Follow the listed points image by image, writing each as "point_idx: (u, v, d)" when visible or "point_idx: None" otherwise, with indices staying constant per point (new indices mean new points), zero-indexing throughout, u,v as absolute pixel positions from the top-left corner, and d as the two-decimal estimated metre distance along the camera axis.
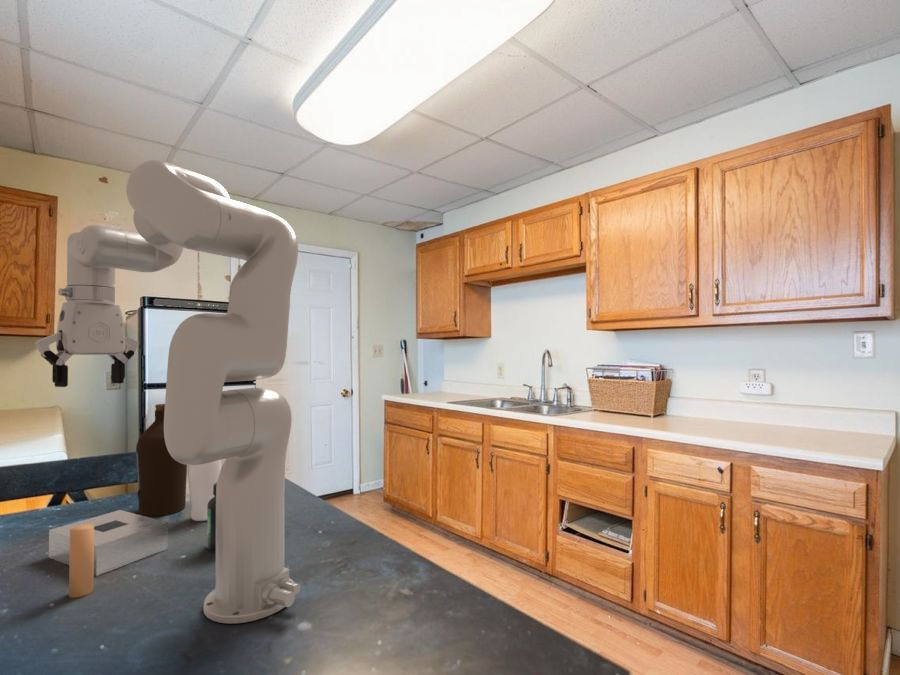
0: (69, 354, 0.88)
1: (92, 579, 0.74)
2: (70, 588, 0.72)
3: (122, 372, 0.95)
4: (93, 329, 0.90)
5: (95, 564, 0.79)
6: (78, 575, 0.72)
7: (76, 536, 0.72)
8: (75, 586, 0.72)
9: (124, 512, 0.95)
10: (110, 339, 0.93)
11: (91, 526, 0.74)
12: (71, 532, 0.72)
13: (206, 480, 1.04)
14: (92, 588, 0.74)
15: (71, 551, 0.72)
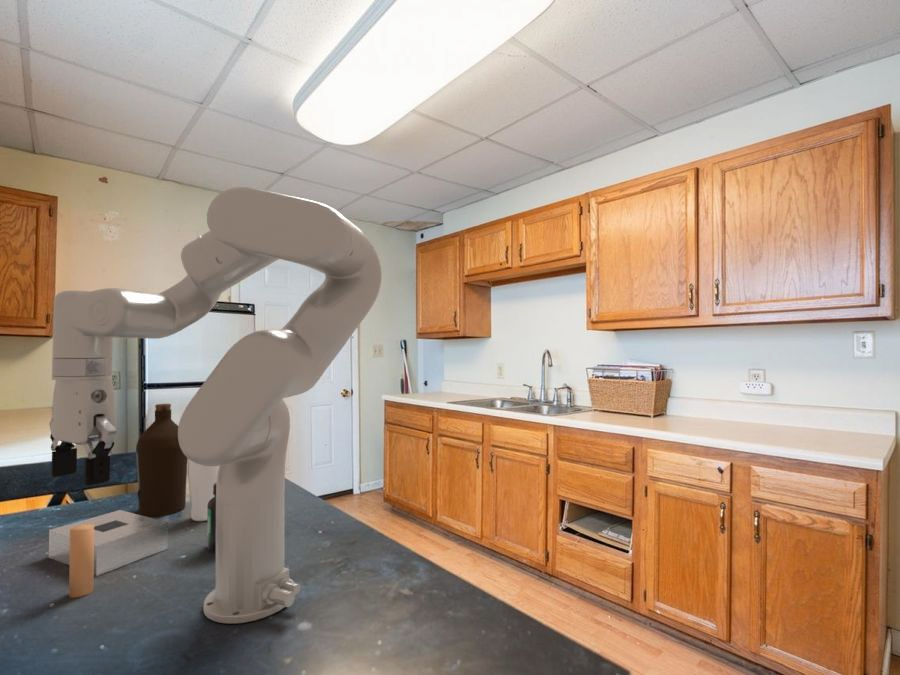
0: None
1: (92, 579, 0.74)
2: (70, 588, 0.72)
3: None
4: None
5: (95, 564, 0.79)
6: (78, 575, 0.72)
7: (77, 536, 0.72)
8: (75, 586, 0.72)
9: (124, 512, 0.95)
10: None
11: (91, 526, 0.74)
12: (71, 532, 0.72)
13: (206, 480, 1.04)
14: (92, 588, 0.74)
15: (71, 551, 0.72)
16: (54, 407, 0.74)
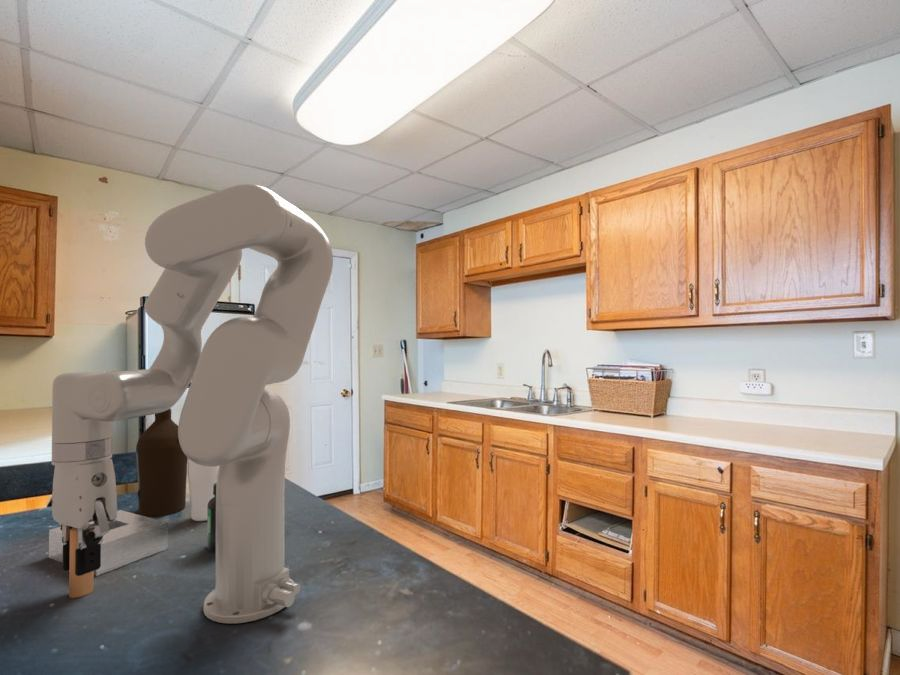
0: None
1: (92, 579, 0.74)
2: (70, 588, 0.72)
3: None
4: None
5: None
6: None
7: (77, 536, 0.72)
8: (75, 586, 0.72)
9: (124, 512, 0.95)
10: None
11: None
12: (71, 532, 0.72)
13: (206, 480, 1.04)
14: (92, 588, 0.74)
15: (71, 551, 0.72)
16: (54, 490, 0.73)
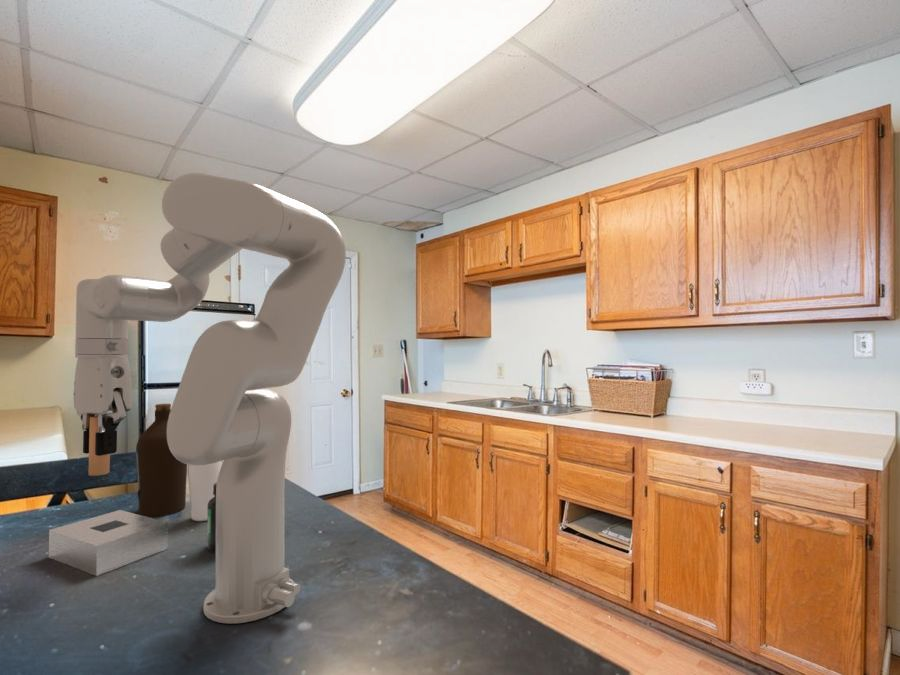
0: None
1: (108, 462, 0.84)
2: (89, 467, 0.82)
3: None
4: None
5: (95, 564, 0.79)
6: (97, 456, 0.82)
7: (96, 422, 0.82)
8: (94, 465, 0.82)
9: (124, 512, 0.95)
10: None
11: None
12: (91, 418, 0.82)
13: (206, 480, 1.04)
14: (108, 470, 0.84)
15: (91, 435, 0.82)
16: (76, 382, 0.83)
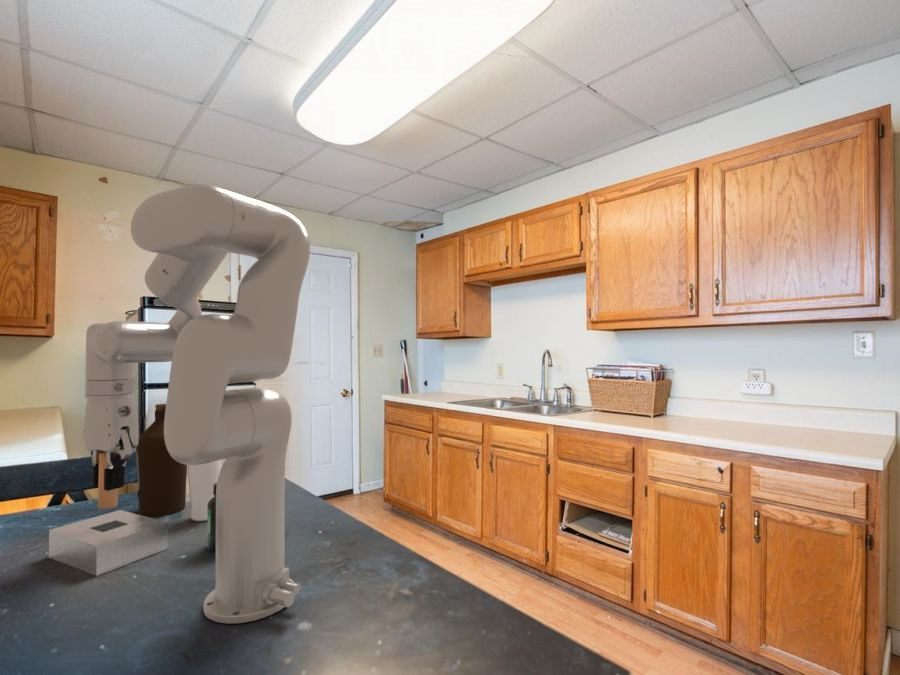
0: None
1: (117, 495, 0.89)
2: (99, 501, 0.87)
3: None
4: None
5: (95, 564, 0.79)
6: None
7: (105, 458, 0.87)
8: (103, 499, 0.87)
9: (124, 512, 0.95)
10: None
11: None
12: (100, 455, 0.87)
13: (206, 480, 1.04)
14: (116, 503, 0.89)
15: (100, 470, 0.87)
16: (86, 420, 0.88)
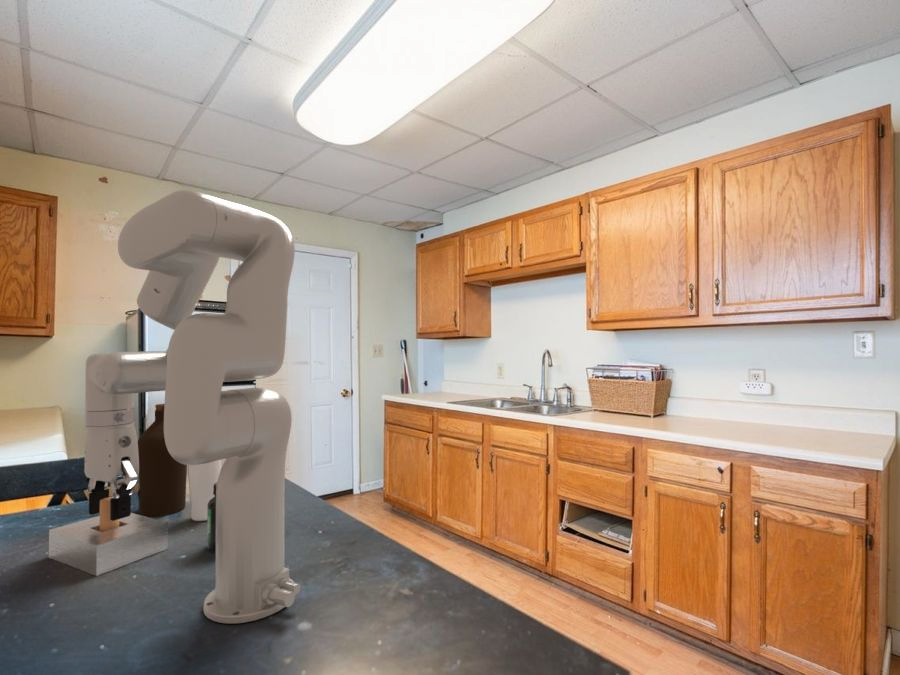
0: None
1: None
2: None
3: None
4: None
5: (95, 564, 0.79)
6: None
7: (105, 505, 0.86)
8: None
9: None
10: None
11: None
12: (101, 502, 0.87)
13: (206, 480, 1.04)
14: None
15: (101, 518, 0.86)
16: (87, 451, 0.88)
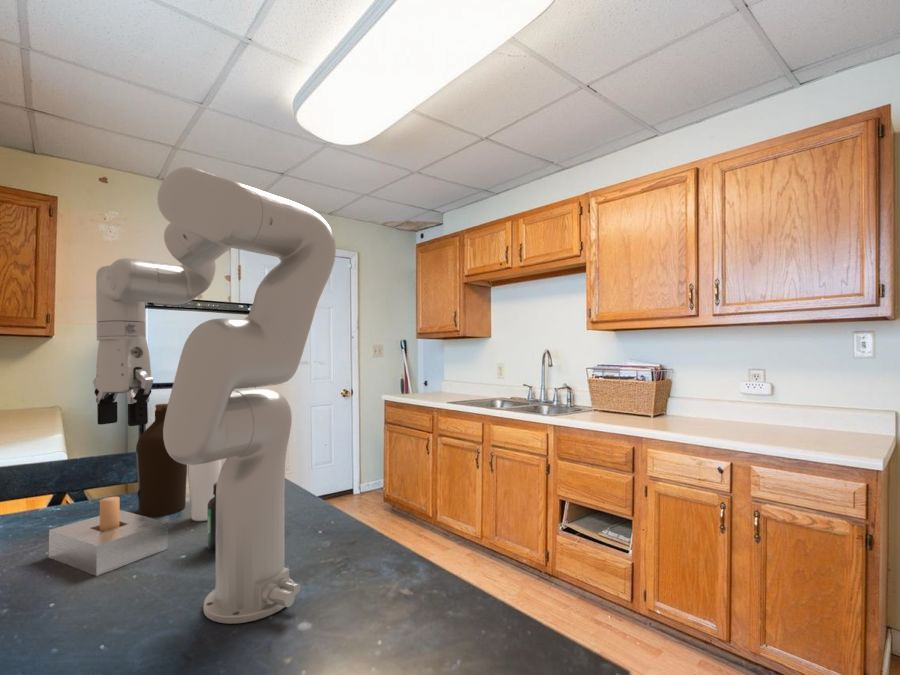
0: None
1: None
2: None
3: None
4: None
5: (95, 564, 0.79)
6: None
7: (105, 505, 0.86)
8: None
9: (124, 512, 0.95)
10: None
11: (117, 498, 0.88)
12: (101, 502, 0.87)
13: (206, 480, 1.04)
14: None
15: (101, 518, 0.86)
16: (98, 364, 0.88)
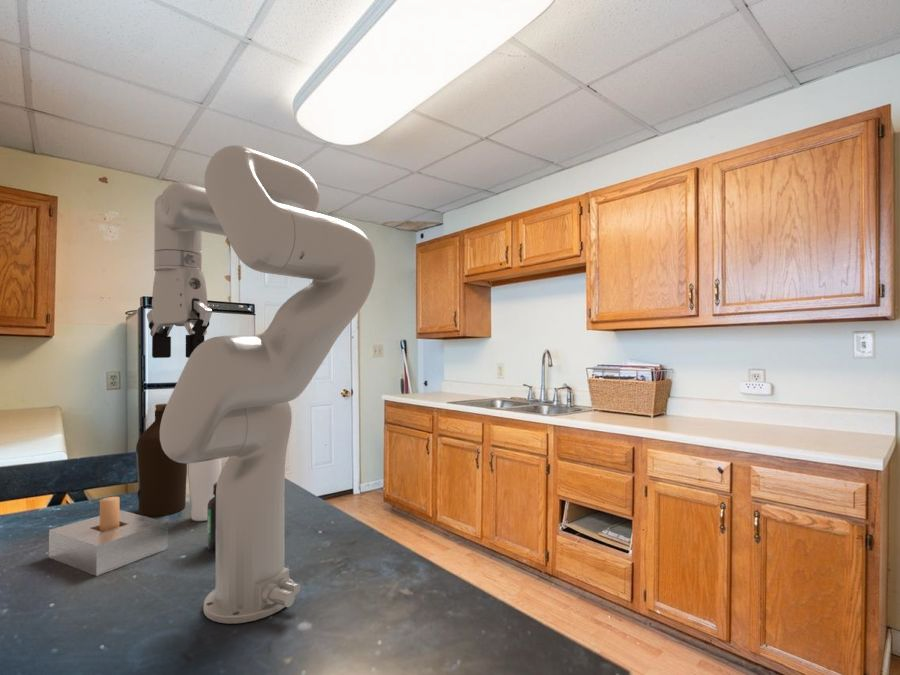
0: None
1: None
2: None
3: None
4: None
5: (95, 564, 0.79)
6: None
7: (106, 505, 0.86)
8: None
9: (124, 512, 0.95)
10: None
11: (117, 498, 0.88)
12: (101, 502, 0.87)
13: (206, 480, 1.04)
14: None
15: (101, 518, 0.86)
16: (155, 296, 0.86)
